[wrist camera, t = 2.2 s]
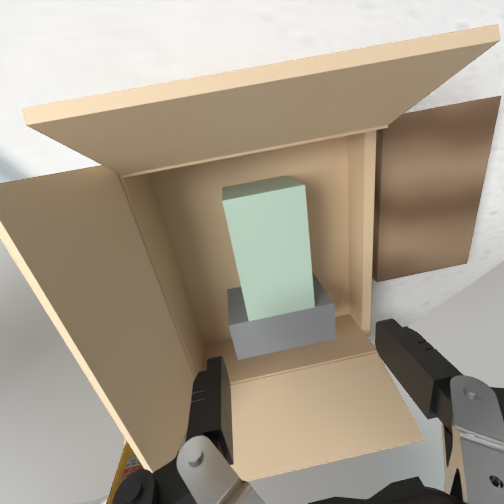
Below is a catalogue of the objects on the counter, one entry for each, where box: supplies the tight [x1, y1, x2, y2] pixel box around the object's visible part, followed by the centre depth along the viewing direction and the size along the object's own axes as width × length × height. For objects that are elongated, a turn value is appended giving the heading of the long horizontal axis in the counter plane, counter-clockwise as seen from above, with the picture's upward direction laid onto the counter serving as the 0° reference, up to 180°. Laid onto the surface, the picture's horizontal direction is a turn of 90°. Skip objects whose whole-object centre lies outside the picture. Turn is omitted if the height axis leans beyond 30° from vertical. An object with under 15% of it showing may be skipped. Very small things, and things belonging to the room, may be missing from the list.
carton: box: [0, 24, 500, 482], centre depth 17 cm, size 22×18×12 cm
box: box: [222, 175, 336, 360], centre depth 20 cm, size 12×8×5 cm, turn 10°
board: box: [372, 96, 501, 282], centre depth 22 cm, size 14×9×2 cm, turn 10°
